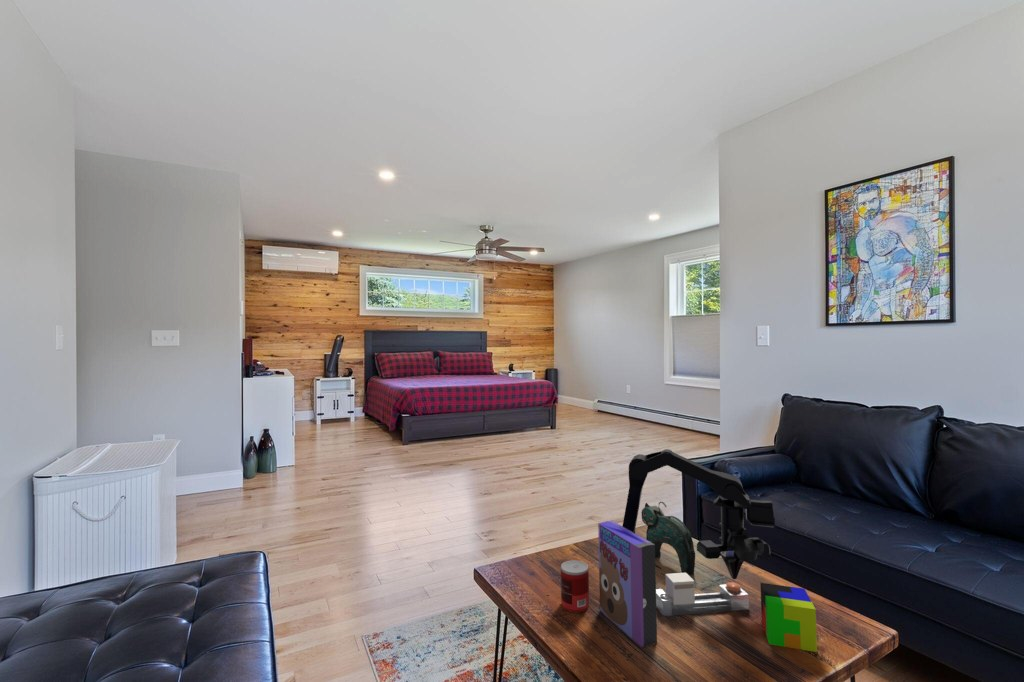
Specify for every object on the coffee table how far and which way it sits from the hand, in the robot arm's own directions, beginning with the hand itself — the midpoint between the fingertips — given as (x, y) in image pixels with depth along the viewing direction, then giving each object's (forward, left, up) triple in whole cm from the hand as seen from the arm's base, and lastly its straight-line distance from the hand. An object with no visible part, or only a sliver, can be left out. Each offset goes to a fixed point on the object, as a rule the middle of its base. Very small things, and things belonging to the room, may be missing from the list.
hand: (733, 578), depth 130 cm
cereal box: (-33, -6, -7) cm, 34 cm away
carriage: (-16, 0, -5) cm, 16 cm away
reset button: (0, 0, -7) cm, 7 cm away
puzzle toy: (+5, -15, -7) cm, 17 cm away
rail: (-10, 0, -7) cm, 12 cm away
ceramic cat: (-7, +26, -7) cm, 28 cm away
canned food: (-44, +5, -7) cm, 45 cm away
